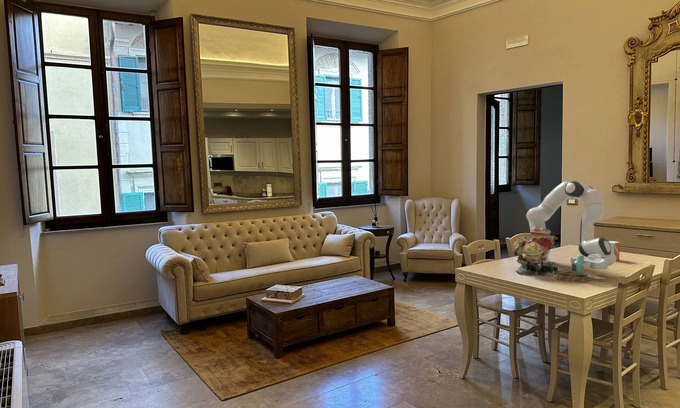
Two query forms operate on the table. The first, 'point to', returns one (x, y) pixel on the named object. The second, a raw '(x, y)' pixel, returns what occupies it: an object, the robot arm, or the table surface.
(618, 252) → the small box
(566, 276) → the socket board
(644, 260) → the table surface
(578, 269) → the dowel
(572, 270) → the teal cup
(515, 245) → the rose bouquet
